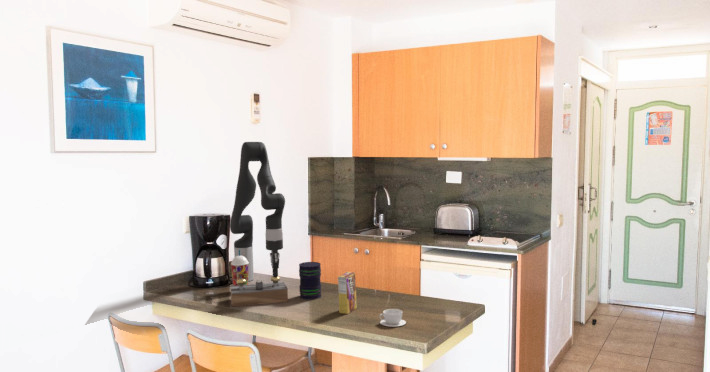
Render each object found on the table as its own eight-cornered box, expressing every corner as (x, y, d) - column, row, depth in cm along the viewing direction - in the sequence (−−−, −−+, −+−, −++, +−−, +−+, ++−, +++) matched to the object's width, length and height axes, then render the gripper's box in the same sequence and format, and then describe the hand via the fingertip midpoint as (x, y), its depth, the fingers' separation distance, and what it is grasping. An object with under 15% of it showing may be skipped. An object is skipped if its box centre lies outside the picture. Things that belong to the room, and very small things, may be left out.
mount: (231, 299, 257) (230, 286, 257) (284, 294, 263) (284, 281, 262) (232, 306, 245) (231, 292, 245) (287, 301, 251) (287, 288, 251)
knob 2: (271, 296, 257) (270, 276, 257) (279, 295, 258) (279, 275, 258) (271, 298, 253) (271, 278, 253) (281, 297, 254) (280, 277, 254)
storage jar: (323, 293, 263) (322, 261, 262) (319, 299, 253) (319, 266, 252) (301, 293, 264) (301, 261, 263) (297, 299, 254) (296, 266, 253)
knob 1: (237, 299, 254) (236, 278, 253) (246, 298, 255) (245, 278, 254) (237, 301, 250) (236, 281, 249) (246, 301, 251) (246, 280, 250)
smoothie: (247, 293, 266) (246, 251, 264) (230, 294, 266) (228, 251, 264) (251, 289, 274) (250, 247, 272) (234, 289, 274) (232, 248, 273)
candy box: (347, 307, 241) (346, 271, 240) (356, 308, 239) (356, 272, 238) (338, 313, 233) (337, 276, 232) (347, 314, 231) (347, 277, 230)
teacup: (404, 319, 224) (404, 307, 224) (407, 327, 214) (407, 315, 214) (378, 320, 224) (378, 308, 224) (380, 328, 214) (380, 316, 214)
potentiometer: (255, 288, 251) (255, 279, 251) (262, 288, 252) (262, 279, 252) (256, 290, 248) (255, 281, 248) (263, 289, 249) (262, 280, 249)
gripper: (264, 236, 259) (265, 274, 261) (267, 241, 247) (268, 281, 248) (280, 235, 261) (282, 273, 262) (284, 240, 248) (285, 279, 250)
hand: (275, 276), depth 255 cm, fingers closed
